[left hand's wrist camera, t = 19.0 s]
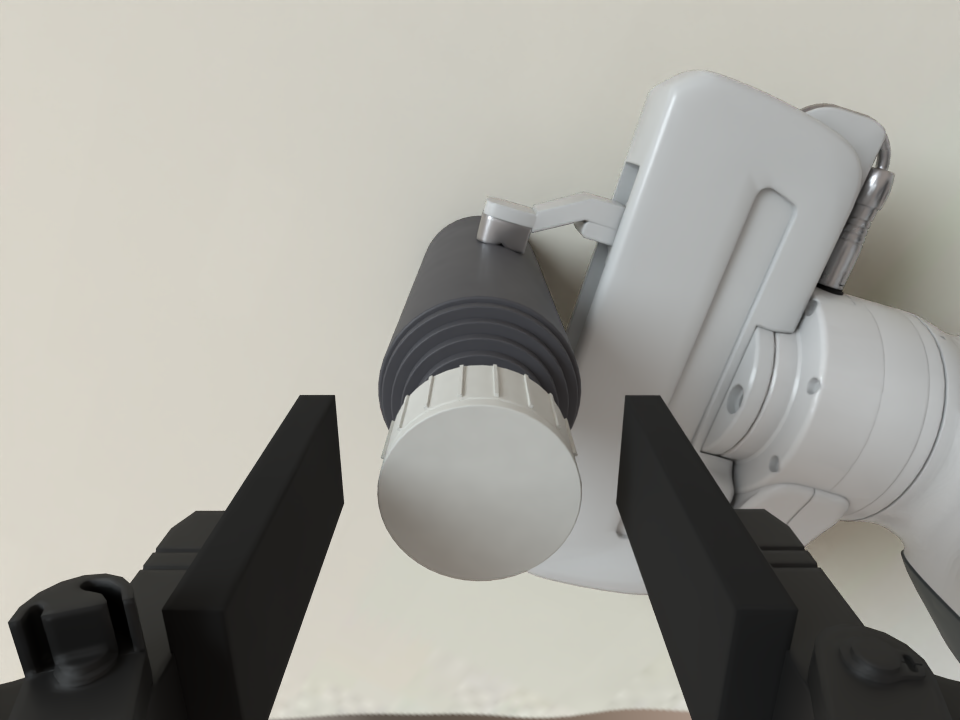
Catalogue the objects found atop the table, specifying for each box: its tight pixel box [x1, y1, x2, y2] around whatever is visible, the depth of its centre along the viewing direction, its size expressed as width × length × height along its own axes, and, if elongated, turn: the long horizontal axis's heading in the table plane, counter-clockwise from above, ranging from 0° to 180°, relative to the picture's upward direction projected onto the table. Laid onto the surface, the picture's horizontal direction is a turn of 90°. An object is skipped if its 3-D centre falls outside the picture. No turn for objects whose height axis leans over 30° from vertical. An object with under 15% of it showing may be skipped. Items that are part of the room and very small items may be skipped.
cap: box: [377, 364, 582, 581], centre depth 14 cm, size 4×4×2 cm
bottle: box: [378, 216, 581, 431], centre depth 22 cm, size 5×5×19 cm
